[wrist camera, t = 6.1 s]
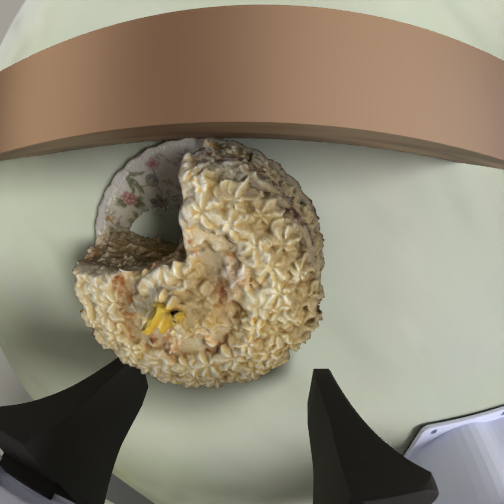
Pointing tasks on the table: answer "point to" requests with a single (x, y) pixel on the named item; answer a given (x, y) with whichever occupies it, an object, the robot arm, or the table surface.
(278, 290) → the cake
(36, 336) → the table surface
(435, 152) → the walnut board
